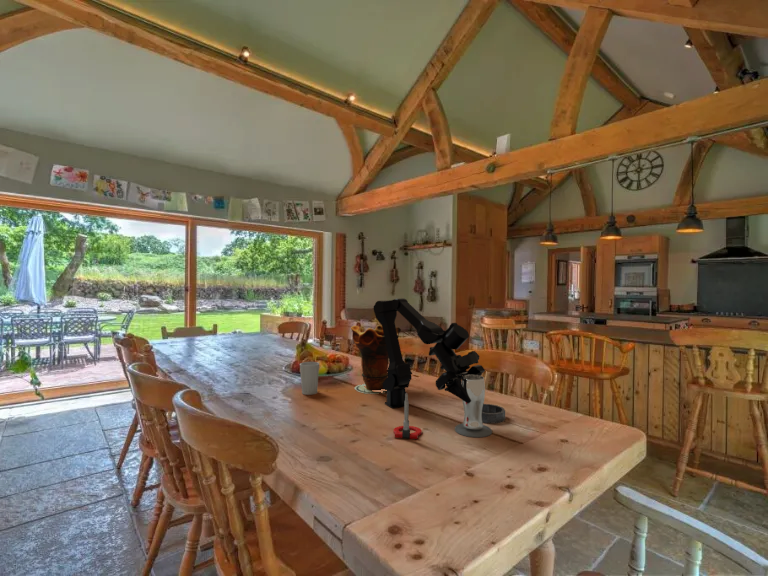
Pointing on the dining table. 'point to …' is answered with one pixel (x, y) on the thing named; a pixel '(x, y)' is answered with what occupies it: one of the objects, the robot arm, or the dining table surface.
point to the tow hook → (407, 425)
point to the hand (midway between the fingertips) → (476, 400)
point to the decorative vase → (372, 357)
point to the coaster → (473, 431)
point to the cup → (309, 377)
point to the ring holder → (493, 413)
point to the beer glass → (473, 401)
